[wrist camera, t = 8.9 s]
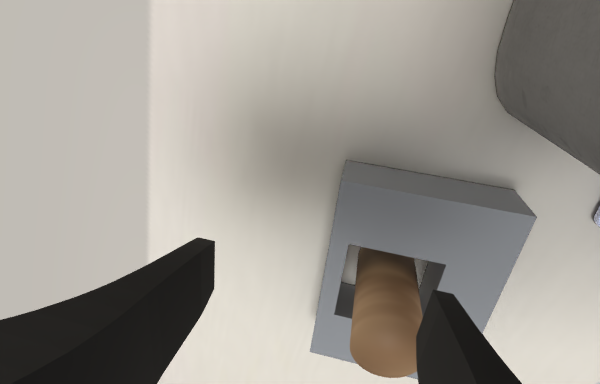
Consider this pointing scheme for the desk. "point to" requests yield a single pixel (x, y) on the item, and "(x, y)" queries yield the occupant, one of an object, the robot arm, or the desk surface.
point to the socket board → (421, 242)
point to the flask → (554, 72)
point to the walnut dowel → (385, 314)
